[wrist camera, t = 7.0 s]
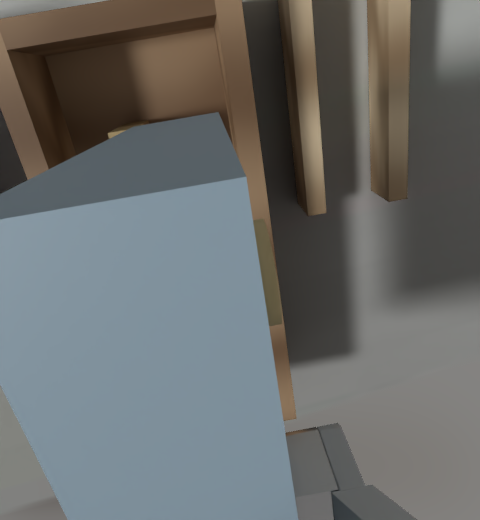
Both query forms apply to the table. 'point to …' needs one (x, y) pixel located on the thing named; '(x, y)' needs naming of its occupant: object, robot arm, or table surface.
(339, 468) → the robot arm
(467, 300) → the table surface
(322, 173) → the door stand
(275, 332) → the box
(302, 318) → the table surface
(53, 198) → the door
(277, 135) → the table surface
